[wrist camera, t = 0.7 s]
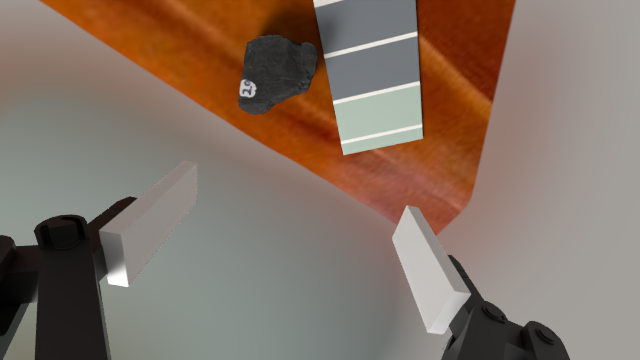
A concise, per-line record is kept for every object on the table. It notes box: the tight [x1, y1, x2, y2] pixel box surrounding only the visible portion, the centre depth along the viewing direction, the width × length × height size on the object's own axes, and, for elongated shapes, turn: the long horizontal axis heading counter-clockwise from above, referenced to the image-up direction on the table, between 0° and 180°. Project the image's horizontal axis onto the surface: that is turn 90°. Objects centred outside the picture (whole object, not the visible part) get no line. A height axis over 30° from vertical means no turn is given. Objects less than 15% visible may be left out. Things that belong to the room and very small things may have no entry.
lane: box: [313, 0, 423, 155], centre depth 35 cm, size 24×12×1 cm, turn 13°
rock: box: [238, 35, 319, 115], centre depth 33 cm, size 10×9×6 cm
